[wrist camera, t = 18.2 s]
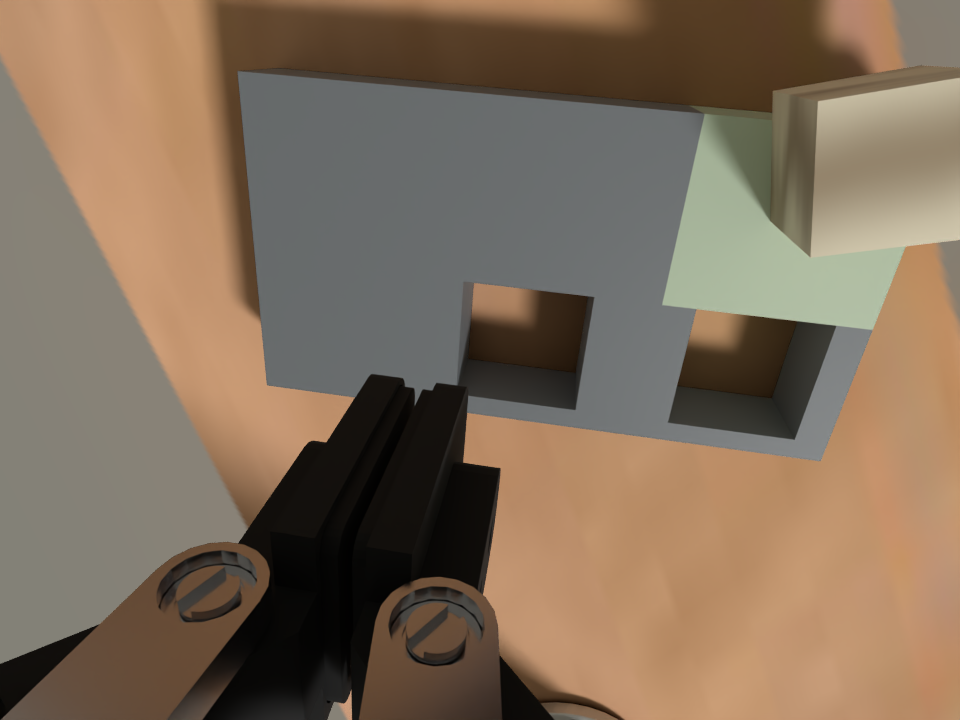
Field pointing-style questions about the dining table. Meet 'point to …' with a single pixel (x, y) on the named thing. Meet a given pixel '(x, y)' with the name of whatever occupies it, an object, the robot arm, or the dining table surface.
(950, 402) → the dining table surface
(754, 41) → the dining table surface
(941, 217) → the maple block
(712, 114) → the board
